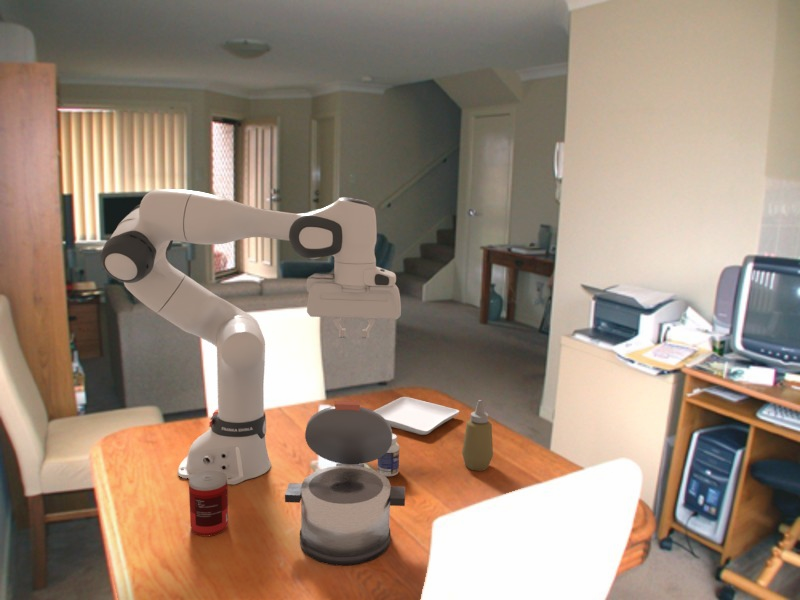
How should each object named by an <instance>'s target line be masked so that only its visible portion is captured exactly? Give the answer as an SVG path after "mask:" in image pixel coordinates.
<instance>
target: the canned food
mask: <svg viewBox="0 0 800 600" xmlns="http://www.w3.org/2000/svg"><path fill="white" fill-rule="evenodd" d="M228 490H229V489H228V484H227V476H226V475H225V474H224V473H222V472H219V471H203V472H199V473H197V474H195V475H193V476H192V477H191V478H190V479H188V492H189V493H188V495H189V497H188V498H189V516H190V517H189V518H190V519H189V521H190V529H191V530H192V533H194V534H195V533H196V535H197V536H200V535H201V537H211V535H213V536H216V535H219V534H221V533H222V532H223V531H225V530H226V528H228V524H229V506H228V505H229V502H228V500H229V499H228V494H229V493H228ZM220 532H221V533H220ZM218 533H219V534H218ZM209 535H210V536H209Z"/></svg>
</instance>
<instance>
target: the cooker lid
mask: <svg viewBox="0 0 800 600" xmlns="http://www.w3.org/2000/svg"><path fill="white" fill-rule="evenodd" d="M304 434H305V435H304V436H305V437H304V439H305V441H306V445H308V447H309V448H310V450H311V451H312V452H313V453H314V454H315V455H317V456H318V457H320V458H323V459H324V460H327V461H330V462H331V463H336V464H337V463H339V464H367V463H370V462H371V463H372V462H374V461H376V460H378V458H380V457H382V456H383V455H384V454H386V453H387V451H388V450H389V449H390V447H391V444H392V434H393V430H392V427H390V425H389V423H388V422H387V421H386V420H385V419H384V418H383V417H382V416H381V415H379V414H378V413H376V412H374V410H372V409H369V408H366V407H362V406H361V401H347V400H345V401H343V400H342V401H341V400H334V406H329V407H326V408H324V409H321V410H319V411H317V412H316V413H315V414H313V415H312V416H311V417H310V418H309V420H308V421H307V424H306V426H305V433H304Z"/></svg>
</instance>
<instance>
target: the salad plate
mask: <svg viewBox="0 0 800 600" xmlns="http://www.w3.org/2000/svg"><path fill="white" fill-rule="evenodd" d="M373 411H374V412H376V413H378V414H379V415H381V416H382V417H383V418H384V419H385V420H386V421H387V422H388V423H389V425H390V427H391V428H394V429H399V430H401V431H405V432H408V433H413V434H417V435H421V436H425V435H426V436H427V435H428V434H430V433H431V432H432V431H434V430H435V429H437V428H438V427H440V426H441V425H443V424H445V423H446V422H448V421H450V420H452V419H453V418H455V417H456V416H458V414H459V413H460V410H459V409H455V408H452V407H447V406H444V405H442V404H441V405H440V404H437V403H433V402H427V401H424V400H421V399H416V398H412V397H409V396H401V397H398V398H397V399H395V400H392V401H391V402H389V403H387V404H385V405H383V406H381V407H379V408H376V409H375V410H373Z"/></svg>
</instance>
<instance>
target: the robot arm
mask: <svg viewBox="0 0 800 600" xmlns="http://www.w3.org/2000/svg"><path fill="white" fill-rule="evenodd" d="M377 231H378V230H377V215H376V210H375V208H374V207H373V205H372V204H371V203H370V202H368V201H366V200H363V199H359V198H355V197H348V196H343V197H339V198H338V199H337V200H336V201H334V202H333V203H330V204H328V205H327V206H325V207H322V208H318V209H313V210H311V211H306V212H303V213H302V212H301V213H300V212H297V213H296V212H288V211H282V210H281V211H279V210H274V209H272V210H271V209H265V208H259V207H255V206H251V205H248V204H246V203H241V202H238V201H235V200H234V199H233V200H232V199H228V198H227V197H226V198H225V197H223V196H220V195H217V194H212V193H207V192H204V191H198V190H188V189H179V188H178V189H175V188H174V189H173V188H168V189H167V188H165V189H164V188H163V189H162V188H161V189H153V190H150V191H148V192H147V193H146V194H145V195H144V196H143V198H142V200H141V201H140V204H138V205H136V206H135V207H134V208H133V209H132V210H130V212H129V214H127V215H126V216H125V217H124V218H123V219H122V220H121V221H120V222H119V223H118V225H117V227H116V229H115V230H114V231H113V233H112V234H111V236H110V237H109V239H107V241H106V242H105V243H104V245H103V248H102V250H101V254H100V258H99V259H100V263H101V266H102V268H103V270H104V271H105V272H106V273H107V274H108V275H109V276H110V277H112V278H113V279H115V280H116V281H118V282H121V283H123V284H124V287H125V288H126V290H127V291H129V292H130V293H131V294H132V295H133V296H134V297H135V298H136V299H137V300H138V301H140V302H141V303H142V304H143V305H144V306H145V307H147V308H148V309H150V310H151V311H153V312H154V313H156V314H157V315H159V316H161V317H162V318H163V319H165V320H166V321H168V322H170V323H171V324H173V325H174V326H176V327H177V328H178V329H180V330H182V331H184V332H186V333H187V334H191V335H194V336H196V337H198V338H200V339H203V340H205V341H207V342H208V343H211V344H212V345H213V346H215V347H216V358H217V360H216V362H217V365H216V366H217V367H216V368H217V373H216V375H217V409H215V410H214V412H212V416H211V417H210V420H209V424H208V425H209V426H208V427H209V428H210V429H208V430H206V432H203V434H201V435H200V436H198V437H197V438H195V440H194V441H193V442H192V444H191V446H190V448H189V450H188V454H187V456H186V457H184V459H182V461H181V462H180V464H179V466H178V468H177V475H178V477H179V476H180V477H182V478H181V479H187V478H188V480H189V479H190V478H191V477H192V476H193V475H195V474H197V473H199V472H203V471H219V472H222V473H224V474H225V475H226V476H227V485H237V484H241V483H242V482H244V481H246V480H250V479H254V478H257V477H260V476H262V475H263V474H265V473H267V472H268V471H269V470H270V469H271V468H272V467H271V466H272V462H271V460H270V457H269V453H268V449H267V442H266V434H267V419H266V412H265V411H264V410H265V404H264V401H265V399H264V380H265V379H264V378H265V365H266V364H265V363H266V360H265V359H266V357H265V356H266V341H265V337H264V335H263V332H262V330H261V328H260V324H259V323H258V321H257V320H256V318H255V317H253V316H252V315H251V314H249V313H247V312H246V311H244V310H242V309H241V308H240V307H238V306H236V305H234V304H232V303H231V302H229V301H227V300H226V299H224V298H222V297H221V296H218V295H216V294H215V293H213V292H212V291H210V290H209V289H207V288H205V286H203V285H201V284H200V283H198V282H197V281H196V280H194V279H193V278H191V277H190V276H188V275H187V274H185V273H184V272H182V271H180V270H179V269H177V268H176V267H175V266H173V265H172V264H171V263H170V262H169V261H168V259H167V253H166V252H167V251H168V252H169V251H170V250H171V249H172V247H173V242H175V241H176V242H177V241H178V242H184V243H188V244H189V243H190V244H196V245H223V244H224V245H225V244H228V243H232V242H236V241H240V240H244V239H250V238H266V239H274V240H281V241H289V244H290V246H291V248H292V249H293V251H294V252H295V253H296V254H297V255H299V256H300V257H302V258H306V259H311V260H315V259H321V258H324V257H325V258H326V257H330V256H332V257H334V261H333V262H334V267H333V269H334V272H333V273H317V272H316V273H313V274H312V275H310V276H308V277H307V279H306V282H305V284H306V289H305V290H306V292H307V293H308V297H307V303H306V305H307V306H306V312H307V315H308V316H310V317H312V318H316V317H317V318H333V324H334V326H335V328H336V329H337V330H338V338H344V339H345V338H346V336H347V333H346V332H347V328H345V327H344V328H343V326H342V325H341V320H342V319H345V318H346V319H349V318H350V319H367V324H368V325H367V327H366V328H362V330H361V335H362V336H361V338H362V339H368V340H369V339H370V331H371V329H372V328H373V326H375V325H374V324H375V322H376V321H375V320H376V319H377V320H398V319H399V318H401V315H402V307H401V306H402V305H401V303H402V302H401V295H400V289H399V287H398V286H397V284H396V282H397V275H396V273H395V272H394V271H390V270H388V269H385V268H382V267H380V266H377V259H376V255H375V247H376V244H377V236H378V235H377ZM180 477H179V478H180Z"/></svg>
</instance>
